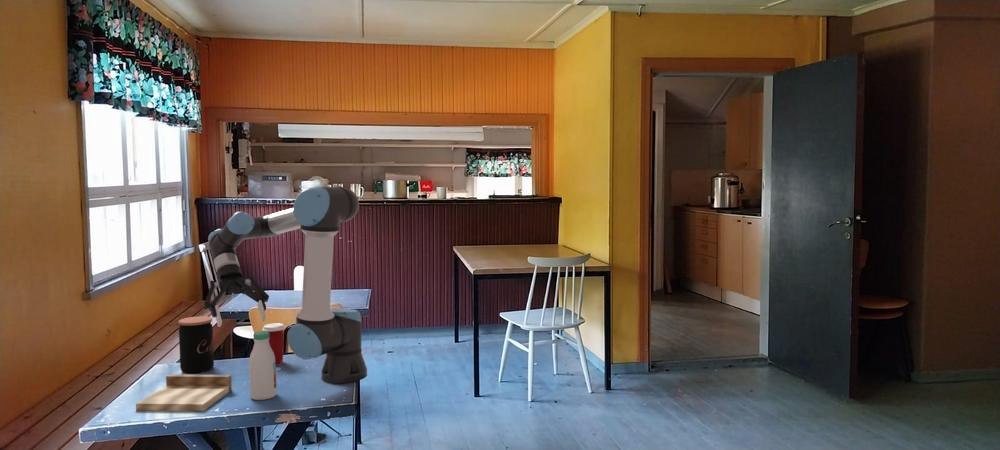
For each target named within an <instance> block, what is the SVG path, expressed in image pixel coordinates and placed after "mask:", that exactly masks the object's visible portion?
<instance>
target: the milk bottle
mask: <svg viewBox="0 0 1000 450" xmlns="http://www.w3.org/2000/svg"><path fill="white" fill-rule="evenodd" d="M253 341H254V344H253V347H252V350H251V352H250V354H249V355H250V356H249V360H248V374H249V377H248V378H249V379H248V380H249V396H250V399H252V400H255V401H263V400H265V401H266V400H270V399H272V398H274V397H276V396H277V369H276V368H277V365H276V363H275V356H274V353H273V351H272V349H271V347H270V344H269V332H266V331H263V330H262V331H256V332H254V333H253Z"/></svg>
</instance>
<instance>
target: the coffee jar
mask: <svg viewBox="0 0 1000 450" xmlns="http://www.w3.org/2000/svg"><path fill="white" fill-rule="evenodd" d="M212 321H213V317H212V316H206V315H205V316H204V315H203V316H202V315H201V316H190V317H185V318H182V319H179V320H178V324H179V327H178V341H179V342H178V343H179V364H180V365H179V367H180V370H181V372H182V373H183V374H185V375H199V374H204V373H207V372H210V371H211V370H212V369H213V367H214V365H215V363H214V361H215V359H214V357H215V356H214V355H215V354H214V334H213V332H214V331H213V324H212Z"/></svg>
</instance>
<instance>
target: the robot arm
mask: <svg viewBox="0 0 1000 450" xmlns="http://www.w3.org/2000/svg"><path fill="white" fill-rule="evenodd" d="M359 207H360V201H359V199H358V197H357V195H356V193H355V192H354V191H353V190H352V189H350V188H349V187H345V186H314V187H308V188H304V189H303V190H301V191H300V192H299V193H298V194H297V196H296V197H295V200H294V202H293V207H292V208H288V209H285V210H284V209H283V210H281V211H277V212H274V213H270V214H267V215H263V216H262V215H260V216H252V215H251V214H249V213H248V212H244V211H236V212H235V213H234V214H233V215H231V217H230V218H229V219H228V220H227V222H226V223H225V225H224V226H223V227H222V228H218V229H216V230H215V229H214V231H212V232H210V234H209V235H208V236H207V237H208V238H207V240H208V248H209V250H210V253H211V257H212V261H213V265H214V269H215V273H216V276H217V279H218V281H217V282H215V280H210V282H209V288H208V289H209V290H208V291H207V292H208V293H207V296H206V298H205V301H204V303H203V309H204V310H207V309H208V310H209V312H210V313H211V314H210V315H211V318H215V320H216V324H217V327H218V328H221V326H222V324H223V319H222V317H221V313H220V308H219V305H218V304H219V302H221V300H222V299H223V297H225V295H226V294H228V295H232V294H240V293H241V294H242V295H245V296H246V297H248V298H250V299H252V300H253V301H255V302H257V304H256V305H257V310H258V312H259V315H260V319H261V321H262V322H265V321H266V317H267V315H266V310H267V304H266V303H267V302H268V301H269V299H270V295H269V294H268V293H267V292H266V291H265V290H264V289H263V288H262V287H261V286H260V285H259V284H258V283H257V282H256V281H255V279H254V277H252V276H251V277H249V278H247V279H245V278H244V277H243V273H242V269H241V266H240V262H239V260H238V256H237V252H236V250H237V247H239V246H240V244H241V243H242V242H243V241H244V240H249V239H250V240H251V239H260V238H261V239H262V238H273V237H278V236H280V235H281V234H284V233H287V232H291V231H296V230H300V231H301V232H302V233H304V257H303V259H304V260H303V275H302V276H303V280H302V296H301V310H300V311H298V312H297V313H296V315H295V316H296V317H295V318H296V319H295V324H292V325H291V327H290V328H289V329H288V331H287V335H286V336H287V344H288V346H289V348H290V350H291V351H292V352H293V354H294V355H295V356H297V357H298V358H299V359H302V360H310V359H317V358H319V357H321V356H323V355H325V358H324V362H323V365H322V369H321V373H320V375H321V376H320V377H321V380H322V381H323V382H326V383H329V384H330V383H331V384H349V383H354V382H358V381H361V380H363V379H365V378H366V377H367V376H368V368H367V365H366V361H365V359H364V356H363V352H362V315H361V313H360V311H359V310H357V309H352V308H351V309H350V308H331V295H332V294H331V293H332V291H331V290H332V276H333V275H332V274H333V259H334V258H333V257H334V256H333V255H334V238H335V235H337V234H338V233H339V231H340V224H341V223H344V222H348V221H351V220H352V219H353V218H355V216H356V215H357V213H358V212H359ZM217 287H218V288H219V289H221V290H220V291H219V292H218V293H217V295H216V297H215V298H213V300H212V297H213V294H214V291H215V290H216V289H217ZM249 287H250V288H249ZM211 300H212V301H211Z"/></svg>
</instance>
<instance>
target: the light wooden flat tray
mask: <svg viewBox="0 0 1000 450" xmlns="http://www.w3.org/2000/svg"><path fill="white" fill-rule="evenodd" d="M165 381H166V382H165V384H166V385H165V386H163V387H161V388H160V389H158V390H156V391H154V392H153V393H151V394H149V395H148V396H146V397H145V398H143V399H141V400H139V401H138V402H136V403H135V410H136V411H159V412H160V411H165V412H166V411H171V412H172V411H174V412H177V411H178V412H180V411H181V412H204V411H206V410H207V409H208V408H210V407H211V406H213V405H214V404H215V403H216V402H218V401H220V399H222V398H224V397H225V396H226V395H227V394H229V393H230V392H232V390H233V389H232V388H233V387H232V374H180V373H179V374H176V373H175V374H173V373H172V374H167V375H166V376H165Z"/></svg>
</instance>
